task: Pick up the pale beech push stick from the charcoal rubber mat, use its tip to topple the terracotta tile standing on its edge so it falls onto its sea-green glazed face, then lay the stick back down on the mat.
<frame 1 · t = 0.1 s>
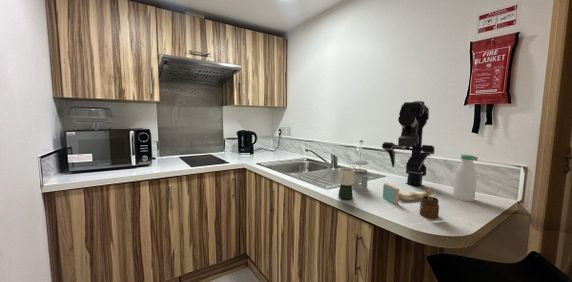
hand: (405, 168, 94), 15 cm above the worktop, tool pointing down, fingers open, 9 cm apart
tile: (390, 201, 100), on the worktop
milk bottle: (463, 199, 104), on the worktop
utensil holder: (428, 217, 85), on the worktop
french press: (357, 189, 116), on the worktop
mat: (413, 199, 102), on the worktop
stick: (413, 198, 102), resting on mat
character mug: (345, 198, 103), on the worktop
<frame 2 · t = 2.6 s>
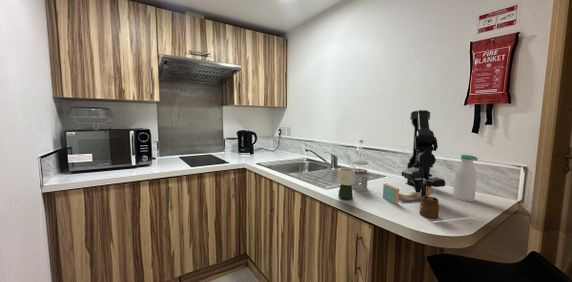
hand: (420, 196, 103), 1 cm above the worktop, tool pointing down, fingers closed on stick, 2 cm apart
stick: (413, 198, 102), resting on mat, touching gripper
everything else where it was.
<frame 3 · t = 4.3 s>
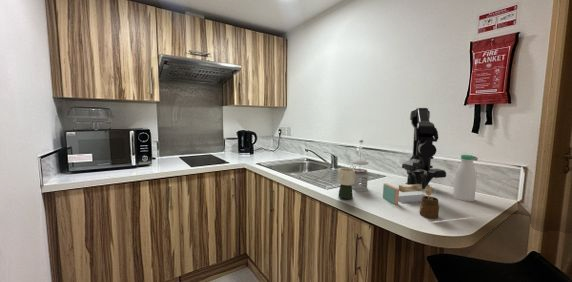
hand: (420, 188, 103), 5 cm above the worktop, tool pointing down, fingers closed on stick, 2 cm apart
stick: (414, 190, 102), point 4 cm above the worktop, touching gripper
everything else where it was.
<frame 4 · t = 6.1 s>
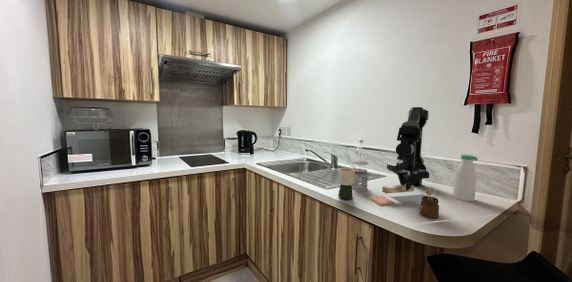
hand: (405, 189, 101), 5 cm above the worktop, tool pointing down, fingers closed on stick, 2 cm apart
tile: (388, 200, 99), point 1 cm above the worktop, tilted 90°
stick: (398, 191, 100), point 4 cm above the worktop, touching gripper
everything else where it was.
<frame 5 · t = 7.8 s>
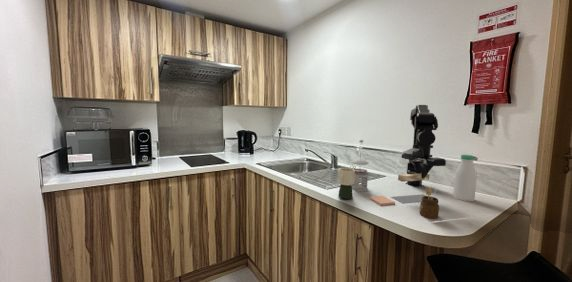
hand: (420, 177, 102), 10 cm above the worktop, tool pointing down, fingers closed on stick, 2 cm apart
stick: (413, 179, 101), point 9 cm above the worktop, touching gripper
everything else where it was.
when the fingers open (3 cm above the worktop, at t = 9.1 s): stick drops 1 cm, resting on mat.
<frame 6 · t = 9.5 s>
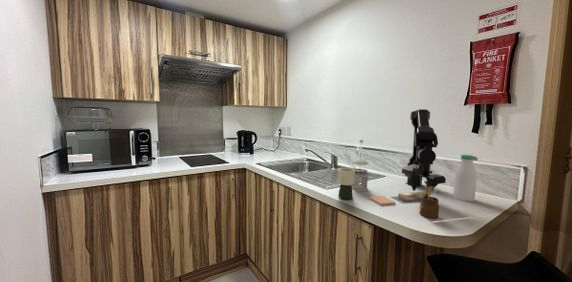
hand: (420, 193, 103), 3 cm above the worktop, tool pointing down, fingers open, 7 cm apart
stick: (413, 198, 102), resting on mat
everything else where it was.
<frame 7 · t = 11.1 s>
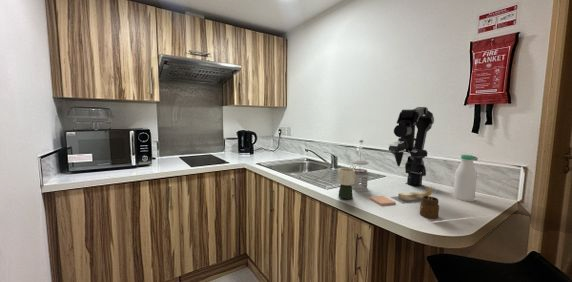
hand: (405, 168, 111), 12 cm above the worktop, tool pointing down, fingers open, 9 cm apart
nothing on the worktop moved.
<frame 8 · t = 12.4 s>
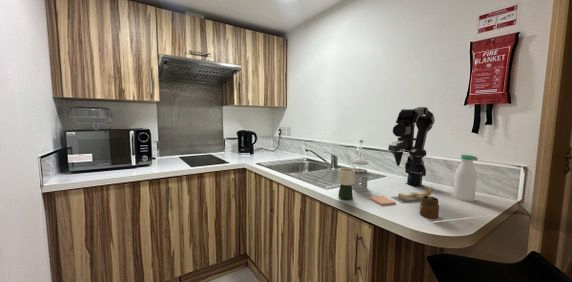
hand: (404, 167, 111), 12 cm above the worktop, tool pointing down, fingers open, 9 cm apart
nothing on the worktop moved.
at the end: tile tilted 90°; stick inside the target area (0.1 cm from its centre), resting on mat; the gripper is holding nothing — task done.
